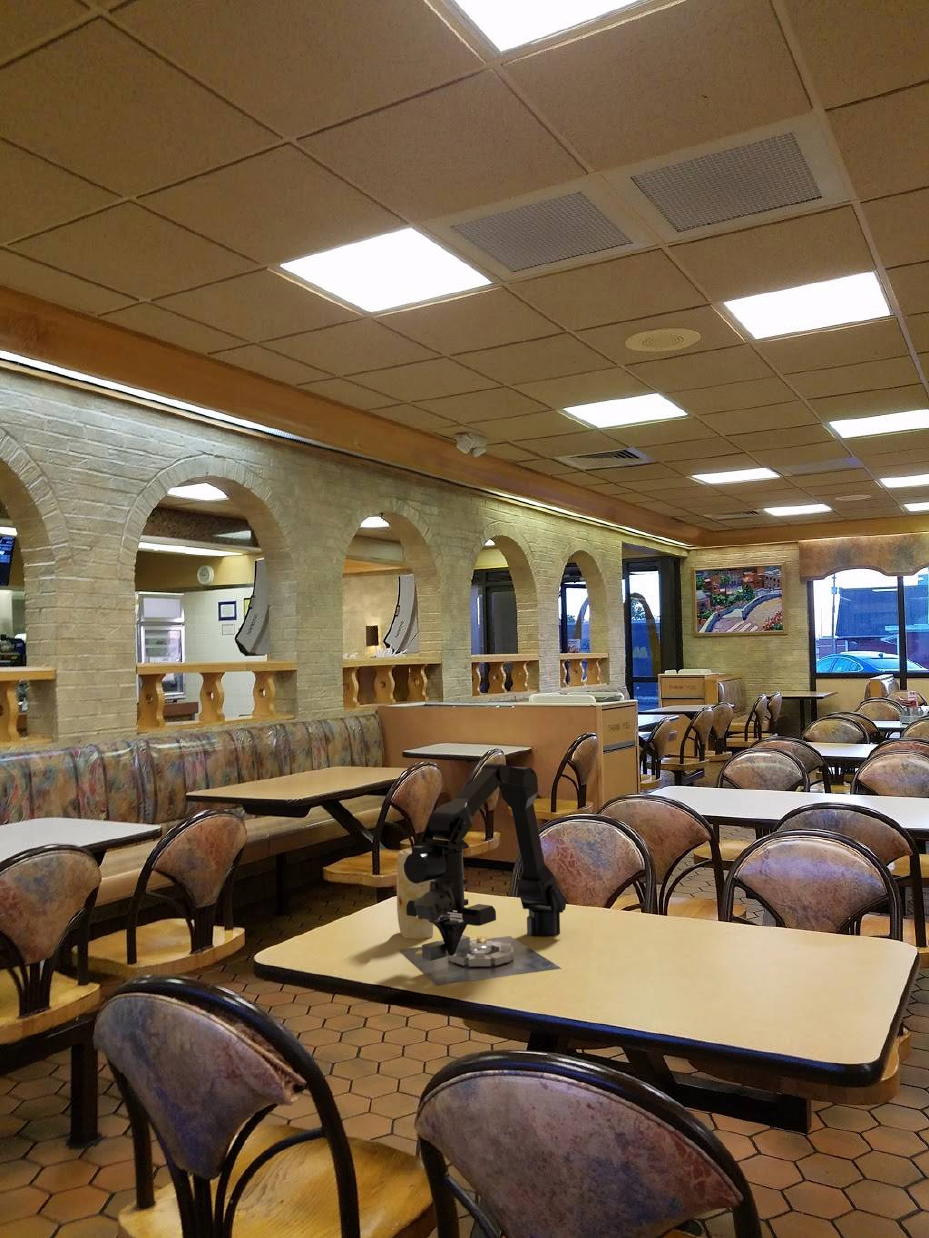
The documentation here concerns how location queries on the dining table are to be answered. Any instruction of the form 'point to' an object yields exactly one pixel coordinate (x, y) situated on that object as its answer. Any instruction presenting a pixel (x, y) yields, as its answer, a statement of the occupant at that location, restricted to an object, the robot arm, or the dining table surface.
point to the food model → (406, 892)
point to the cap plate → (454, 973)
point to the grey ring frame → (461, 956)
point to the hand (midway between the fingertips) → (451, 955)
